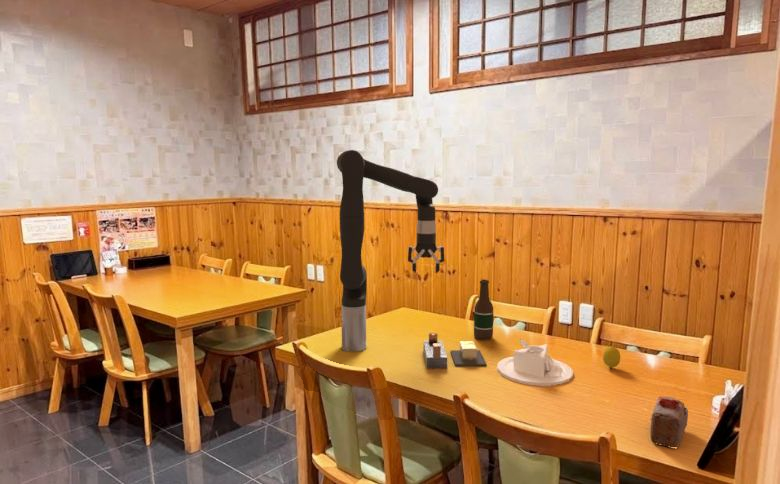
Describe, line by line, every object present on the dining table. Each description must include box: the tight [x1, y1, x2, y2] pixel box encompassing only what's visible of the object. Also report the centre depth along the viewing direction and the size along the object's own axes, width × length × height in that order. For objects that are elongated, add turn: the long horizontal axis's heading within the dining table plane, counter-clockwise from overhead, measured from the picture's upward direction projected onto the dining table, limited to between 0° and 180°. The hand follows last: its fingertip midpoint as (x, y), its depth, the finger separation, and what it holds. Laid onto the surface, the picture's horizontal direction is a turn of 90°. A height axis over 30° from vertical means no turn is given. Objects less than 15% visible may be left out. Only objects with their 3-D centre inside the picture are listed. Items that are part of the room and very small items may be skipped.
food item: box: [649, 396, 689, 449], centre depth 134 cm, size 14×8×10 cm, turn 148°
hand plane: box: [423, 332, 448, 370], centre depth 189 cm, size 18×7×8 cm, turn 0°
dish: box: [497, 339, 574, 387], centre depth 177 cm, size 25×25×11 cm
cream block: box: [459, 340, 478, 361], centre depth 189 cm, size 5×8×4 cm, turn 0°
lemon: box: [602, 345, 621, 369], centre depth 179 cm, size 6×6×8 cm
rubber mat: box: [449, 349, 488, 367], centre depth 189 cm, size 11×14×1 cm
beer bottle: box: [473, 279, 494, 341], centre depth 212 cm, size 8×8×24 cm
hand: (425, 272), depth 206 cm, fingers open, 8 cm apart
